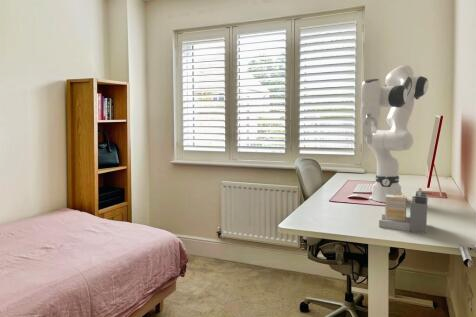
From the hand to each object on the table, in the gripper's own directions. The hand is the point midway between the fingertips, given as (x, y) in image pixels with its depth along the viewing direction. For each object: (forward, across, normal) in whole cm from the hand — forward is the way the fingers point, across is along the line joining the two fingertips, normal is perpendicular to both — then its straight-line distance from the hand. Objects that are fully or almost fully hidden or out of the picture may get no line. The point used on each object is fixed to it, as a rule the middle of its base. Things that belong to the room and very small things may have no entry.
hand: (369, 143), depth 176 cm
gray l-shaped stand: (+34, -13, -16) cm, 40 cm away
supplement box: (+34, -13, -13) cm, 39 cm away
